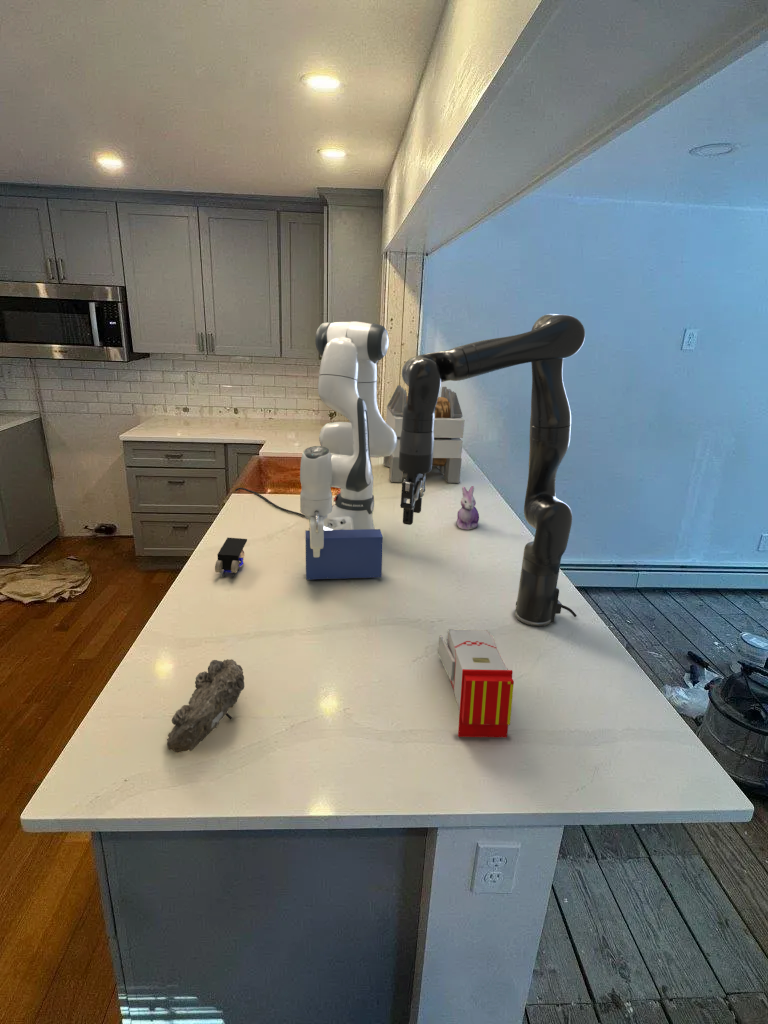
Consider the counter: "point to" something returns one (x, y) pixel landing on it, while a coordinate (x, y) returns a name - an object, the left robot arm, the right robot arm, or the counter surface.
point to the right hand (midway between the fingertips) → (412, 517)
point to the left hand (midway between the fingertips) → (316, 550)
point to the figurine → (468, 510)
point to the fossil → (206, 705)
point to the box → (346, 555)
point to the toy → (478, 682)
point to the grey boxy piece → (445, 434)
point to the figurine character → (230, 556)
